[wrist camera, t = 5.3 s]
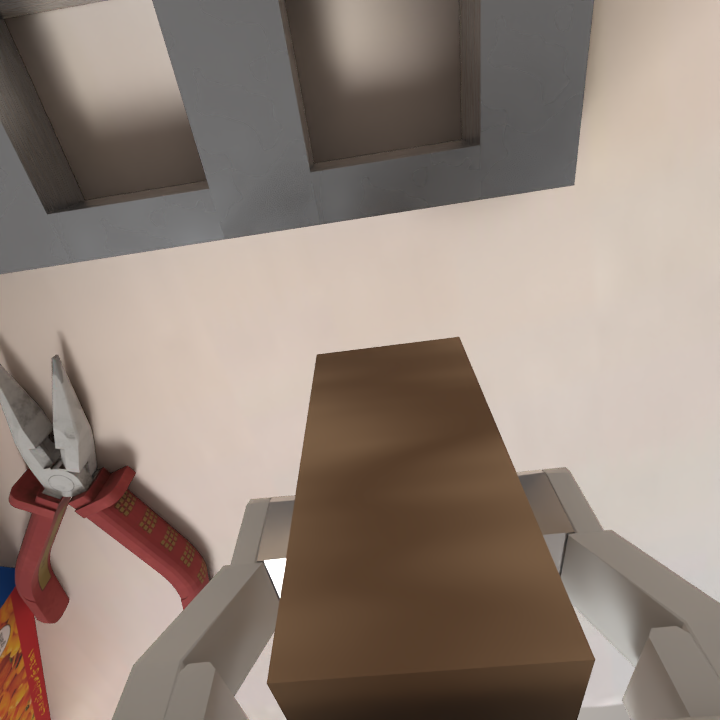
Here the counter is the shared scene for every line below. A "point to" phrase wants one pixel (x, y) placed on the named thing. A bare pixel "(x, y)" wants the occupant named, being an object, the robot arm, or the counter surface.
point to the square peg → (417, 556)
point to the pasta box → (19, 657)
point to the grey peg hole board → (293, 134)
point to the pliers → (80, 499)
